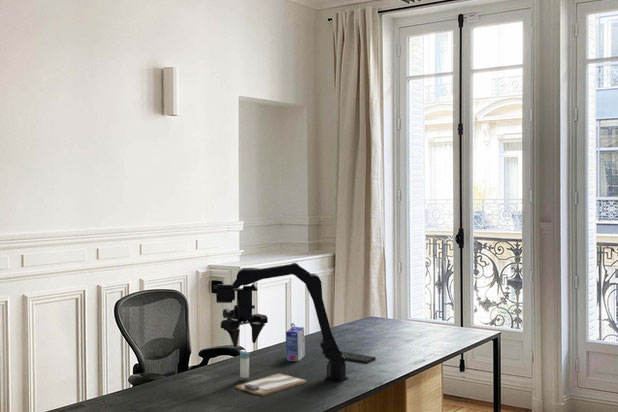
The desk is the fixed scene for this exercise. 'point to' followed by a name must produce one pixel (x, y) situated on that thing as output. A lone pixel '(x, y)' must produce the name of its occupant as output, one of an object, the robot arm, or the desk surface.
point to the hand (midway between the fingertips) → (244, 345)
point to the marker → (244, 366)
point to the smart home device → (358, 357)
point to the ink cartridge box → (295, 343)
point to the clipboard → (271, 384)
